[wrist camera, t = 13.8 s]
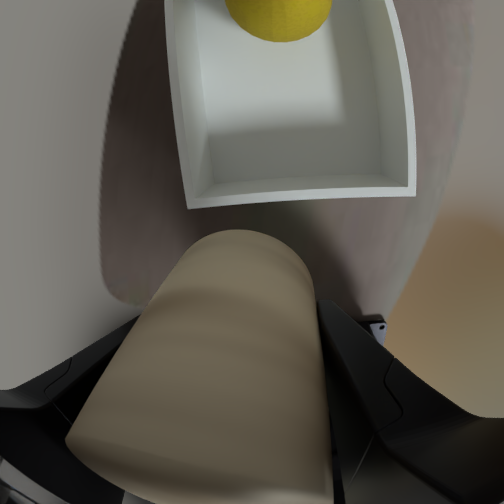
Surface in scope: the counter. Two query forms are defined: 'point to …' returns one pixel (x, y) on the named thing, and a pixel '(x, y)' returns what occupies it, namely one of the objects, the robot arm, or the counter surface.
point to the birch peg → (217, 385)
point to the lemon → (279, 17)
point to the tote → (290, 106)
